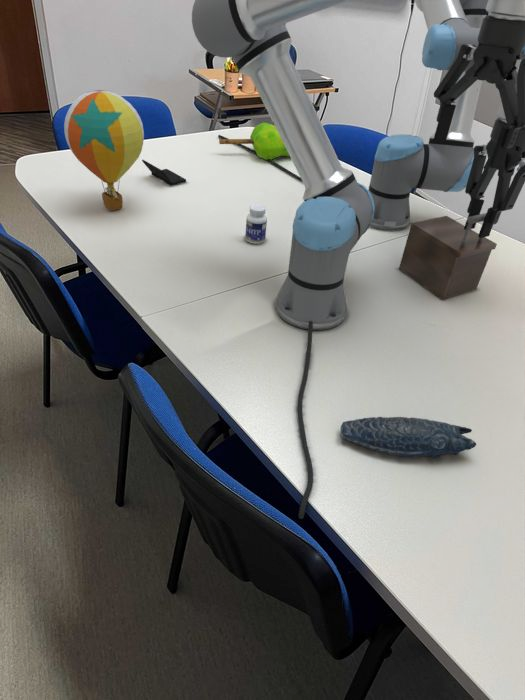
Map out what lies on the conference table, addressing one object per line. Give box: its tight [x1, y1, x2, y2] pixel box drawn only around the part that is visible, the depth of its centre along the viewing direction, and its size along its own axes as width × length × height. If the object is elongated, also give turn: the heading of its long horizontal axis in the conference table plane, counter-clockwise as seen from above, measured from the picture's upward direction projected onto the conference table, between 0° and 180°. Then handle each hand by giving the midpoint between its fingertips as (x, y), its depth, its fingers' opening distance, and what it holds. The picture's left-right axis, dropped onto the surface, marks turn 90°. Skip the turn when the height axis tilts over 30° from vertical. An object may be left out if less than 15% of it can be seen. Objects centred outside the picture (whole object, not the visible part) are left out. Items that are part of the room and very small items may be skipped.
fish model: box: [340, 416, 477, 458], centre depth 82 cm, size 7×21×5 cm, turn 84°
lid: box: [409, 212, 498, 258], centre depth 118 cm, size 16×12×8 cm
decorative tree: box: [218, 122, 290, 161], centre depth 186 cm, size 18×10×30 cm
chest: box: [398, 227, 493, 300], centre depth 124 cm, size 15×12×11 cm
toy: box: [63, 89, 145, 212], centre depth 136 cm, size 20×20×30 cm
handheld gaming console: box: [141, 159, 187, 187], centre depth 162 cm, size 12×7×10 cm
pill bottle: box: [244, 204, 268, 245], centre depth 134 cm, size 5×5×9 cm
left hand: (466, 153), depth 95 cm, fingers open, 13 cm apart
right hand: (476, 232), depth 115 cm, fingers open, 3 cm apart
